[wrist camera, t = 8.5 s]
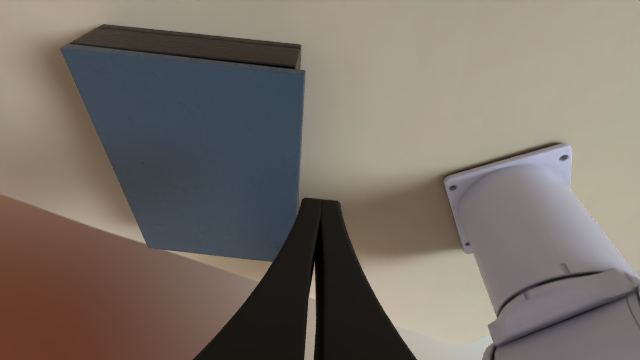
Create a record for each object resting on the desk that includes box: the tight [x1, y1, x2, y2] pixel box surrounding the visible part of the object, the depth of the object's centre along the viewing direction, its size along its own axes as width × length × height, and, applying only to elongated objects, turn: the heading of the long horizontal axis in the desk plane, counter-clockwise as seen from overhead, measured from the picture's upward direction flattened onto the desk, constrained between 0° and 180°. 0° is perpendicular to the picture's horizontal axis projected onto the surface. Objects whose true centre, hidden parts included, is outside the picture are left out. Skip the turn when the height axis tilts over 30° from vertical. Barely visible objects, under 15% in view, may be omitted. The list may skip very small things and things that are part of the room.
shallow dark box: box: [70, 24, 301, 70], centre depth 22 cm, size 11×15×3 cm
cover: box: [60, 44, 305, 262], centre depth 20 cm, size 11×15×1 cm
